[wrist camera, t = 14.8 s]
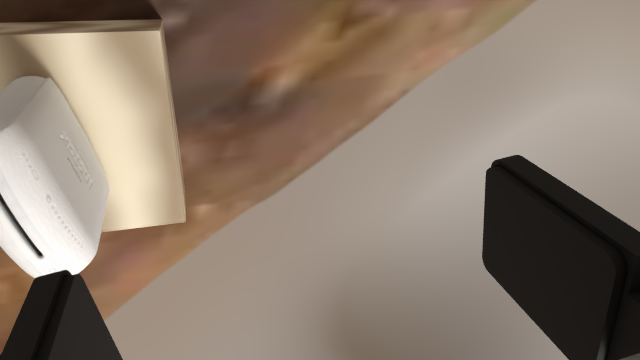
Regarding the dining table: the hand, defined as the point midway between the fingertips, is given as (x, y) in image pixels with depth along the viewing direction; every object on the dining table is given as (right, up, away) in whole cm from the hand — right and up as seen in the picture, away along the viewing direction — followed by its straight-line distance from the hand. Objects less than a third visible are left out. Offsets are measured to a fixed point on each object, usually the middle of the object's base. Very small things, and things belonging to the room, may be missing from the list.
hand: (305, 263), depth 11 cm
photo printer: (-19, +5, +24) cm, 31 cm away
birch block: (-20, +7, +30) cm, 37 cm away
